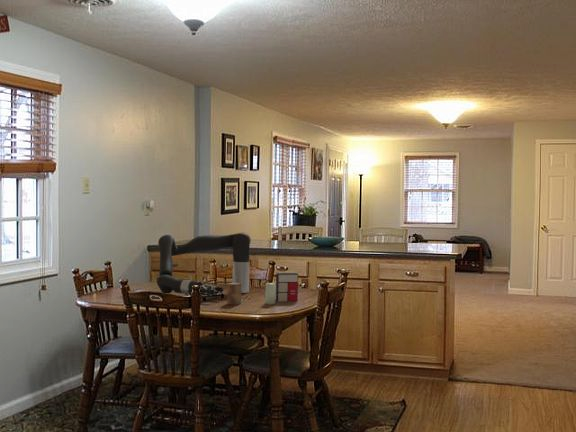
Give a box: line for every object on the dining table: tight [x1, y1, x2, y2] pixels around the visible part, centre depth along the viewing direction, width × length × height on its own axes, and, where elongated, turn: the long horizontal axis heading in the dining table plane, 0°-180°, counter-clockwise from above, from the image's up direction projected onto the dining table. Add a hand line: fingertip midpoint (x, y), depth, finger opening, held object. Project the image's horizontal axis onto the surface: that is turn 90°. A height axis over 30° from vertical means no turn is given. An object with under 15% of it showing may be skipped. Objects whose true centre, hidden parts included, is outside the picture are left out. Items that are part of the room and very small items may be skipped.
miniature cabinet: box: [275, 272, 299, 302], centre depth 341 cm, size 11×4×15 cm, turn 105°
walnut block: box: [226, 282, 242, 306], centre depth 327 cm, size 5×5×10 cm
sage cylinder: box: [264, 282, 276, 306], centre depth 330 cm, size 5×5×10 cm
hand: (218, 290), depth 331 cm, fingers open, 8 cm apart
